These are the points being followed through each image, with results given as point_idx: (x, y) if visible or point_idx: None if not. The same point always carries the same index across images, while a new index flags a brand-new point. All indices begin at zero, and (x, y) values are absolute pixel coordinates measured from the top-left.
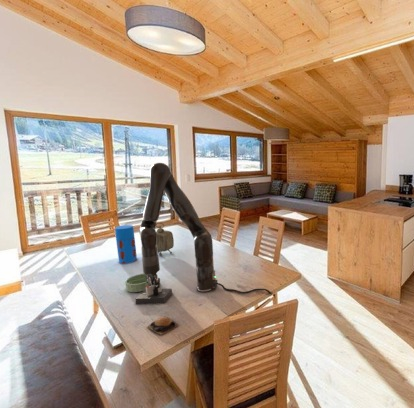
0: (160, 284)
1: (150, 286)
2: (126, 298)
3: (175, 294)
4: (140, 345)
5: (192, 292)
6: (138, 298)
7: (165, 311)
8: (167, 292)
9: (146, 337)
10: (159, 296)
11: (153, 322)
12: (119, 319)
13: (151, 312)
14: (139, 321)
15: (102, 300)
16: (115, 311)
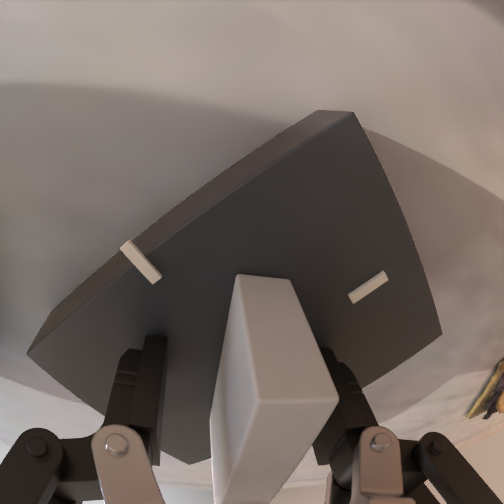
0: (331, 394)
1: (251, 496)
2: (39, 405)
3: (377, 106)
4: (483, 430)
5: (479, 12)
6: (208, 457)
7: (478, 334)
8: (400, 242)
9: (484, 419)
10: (380, 351)
11: (489, 411)
12: (290, 480)
13: (406, 392)
14: (402, 436)
15: (4, 441)
16: (183, 477)
